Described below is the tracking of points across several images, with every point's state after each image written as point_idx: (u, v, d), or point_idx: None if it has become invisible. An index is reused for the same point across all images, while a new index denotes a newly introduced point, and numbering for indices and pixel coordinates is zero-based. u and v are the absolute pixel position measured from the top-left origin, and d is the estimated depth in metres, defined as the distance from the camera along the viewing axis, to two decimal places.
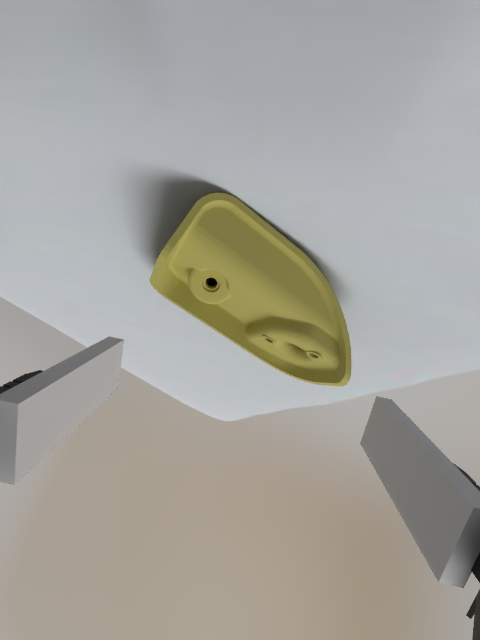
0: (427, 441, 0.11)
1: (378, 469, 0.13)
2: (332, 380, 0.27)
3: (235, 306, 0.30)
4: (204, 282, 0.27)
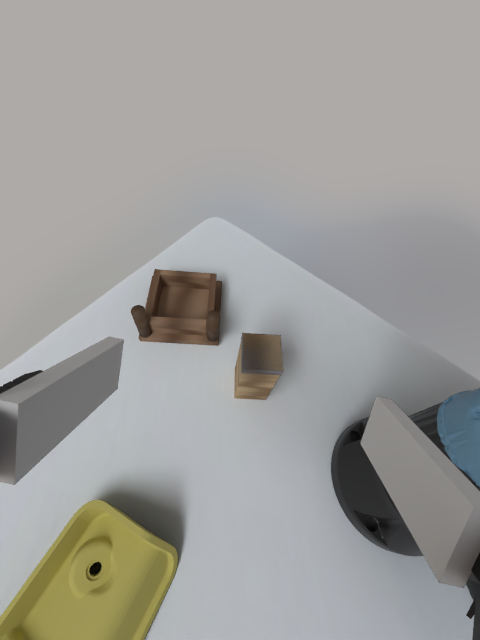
0: (427, 441, 0.11)
1: (378, 469, 0.13)
2: None
3: (58, 602, 0.27)
4: (96, 560, 0.29)
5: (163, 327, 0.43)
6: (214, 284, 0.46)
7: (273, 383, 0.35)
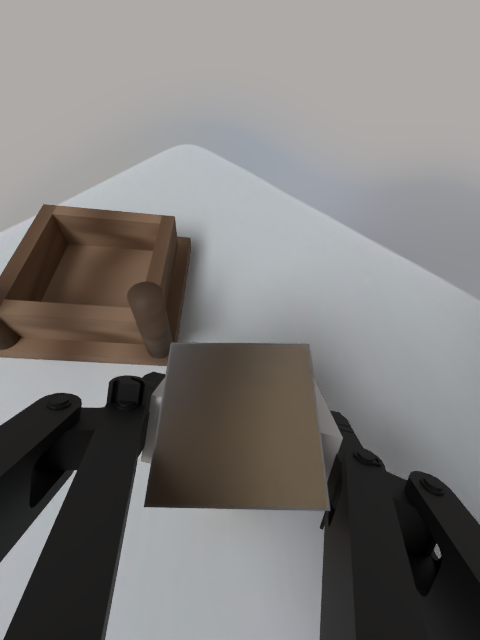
0: (317, 394, 0.13)
1: None
2: None
3: None
4: None
5: (38, 326, 0.18)
6: (168, 235, 0.22)
7: None
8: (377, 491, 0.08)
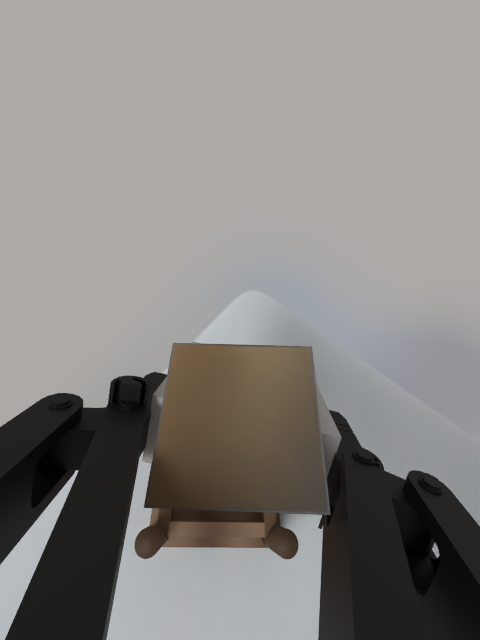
0: None
1: None
2: None
3: None
4: None
5: None
6: None
7: None
8: (375, 490, 0.08)
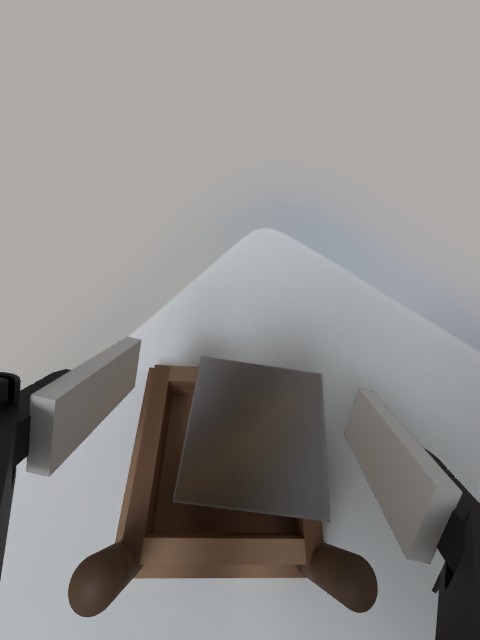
0: (402, 429, 0.11)
1: (359, 457, 0.13)
2: None
3: None
4: None
5: None
6: None
7: None
8: None
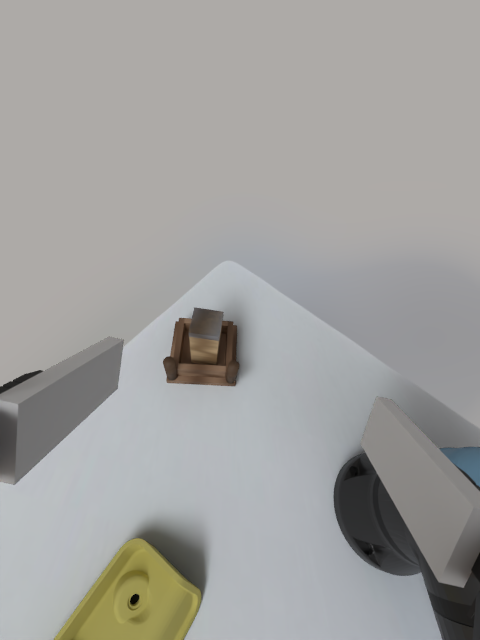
0: (427, 441, 0.11)
1: (378, 469, 0.13)
2: None
3: (103, 624, 0.33)
4: (136, 592, 0.34)
5: (188, 372, 0.49)
6: (231, 331, 0.53)
7: (216, 349, 0.46)
8: None
